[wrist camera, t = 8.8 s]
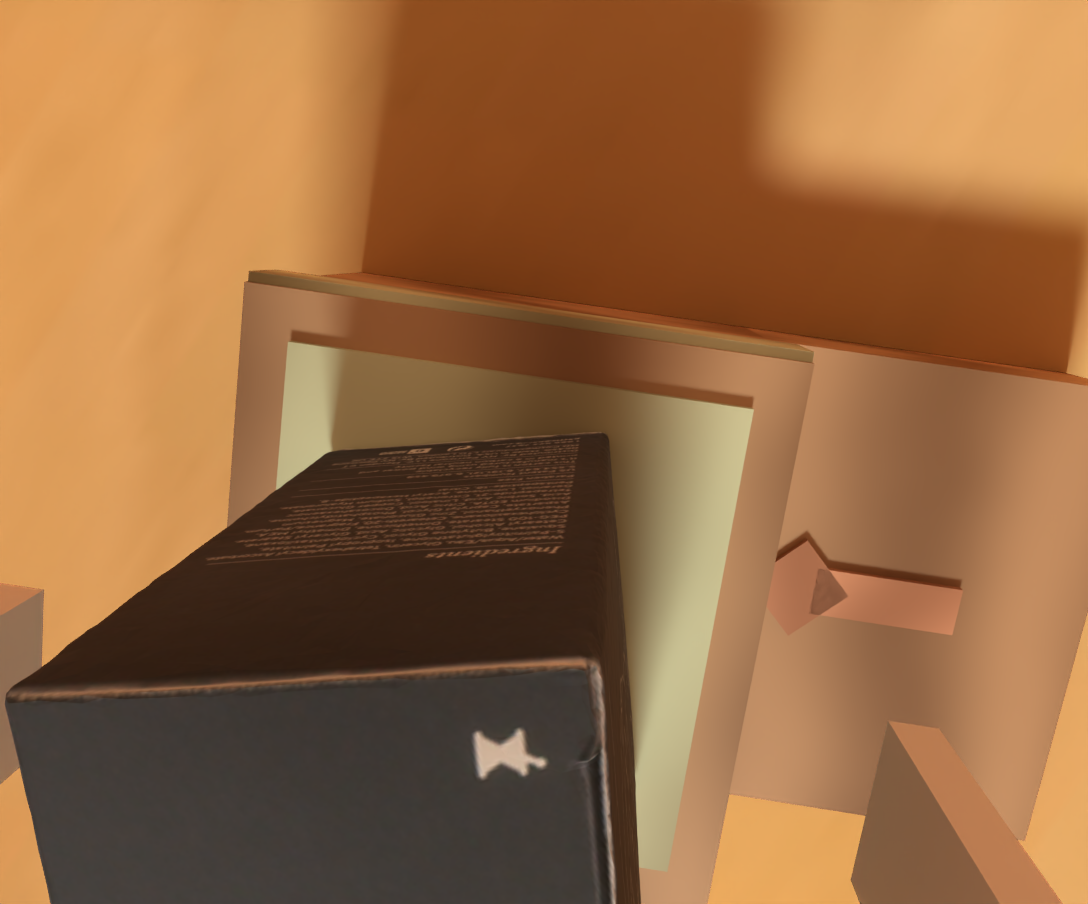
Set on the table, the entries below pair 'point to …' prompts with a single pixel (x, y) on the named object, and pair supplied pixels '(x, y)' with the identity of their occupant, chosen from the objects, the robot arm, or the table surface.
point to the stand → (736, 525)
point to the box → (357, 697)
